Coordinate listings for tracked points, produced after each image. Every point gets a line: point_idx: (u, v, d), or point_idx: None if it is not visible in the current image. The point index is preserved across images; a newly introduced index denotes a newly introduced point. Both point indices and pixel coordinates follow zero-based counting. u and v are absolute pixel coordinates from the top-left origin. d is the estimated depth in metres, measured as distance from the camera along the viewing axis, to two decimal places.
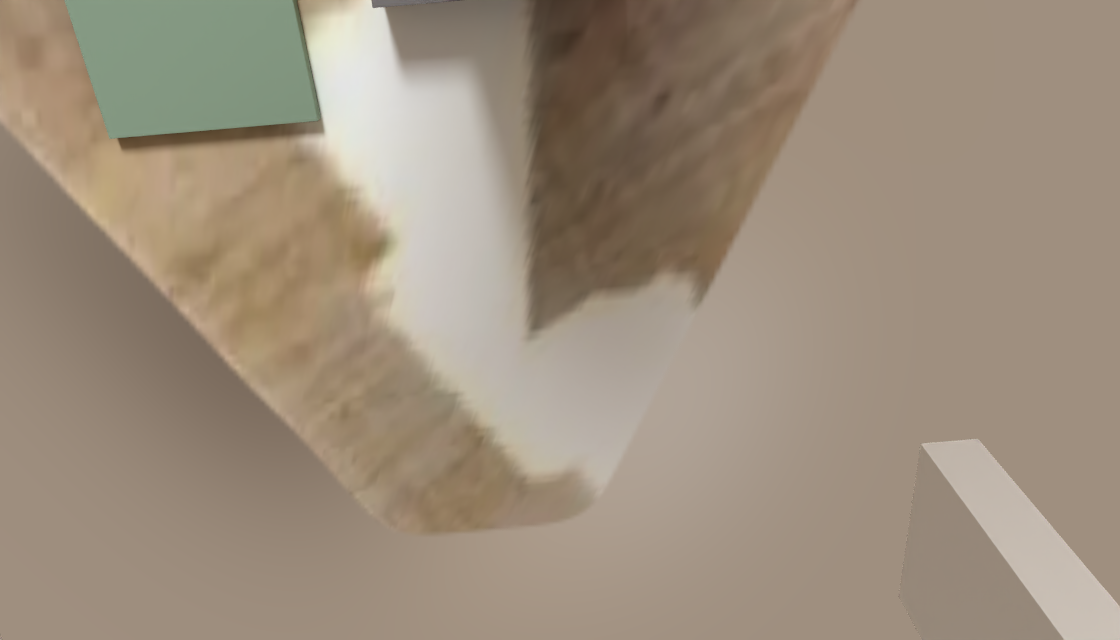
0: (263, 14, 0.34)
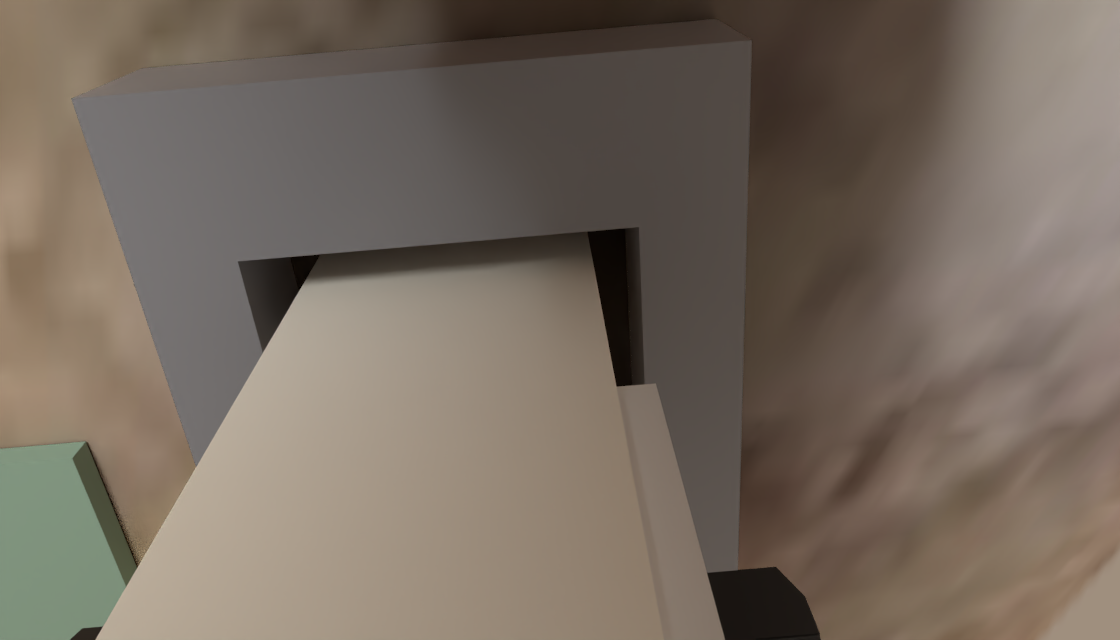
0: (84, 622, 0.19)
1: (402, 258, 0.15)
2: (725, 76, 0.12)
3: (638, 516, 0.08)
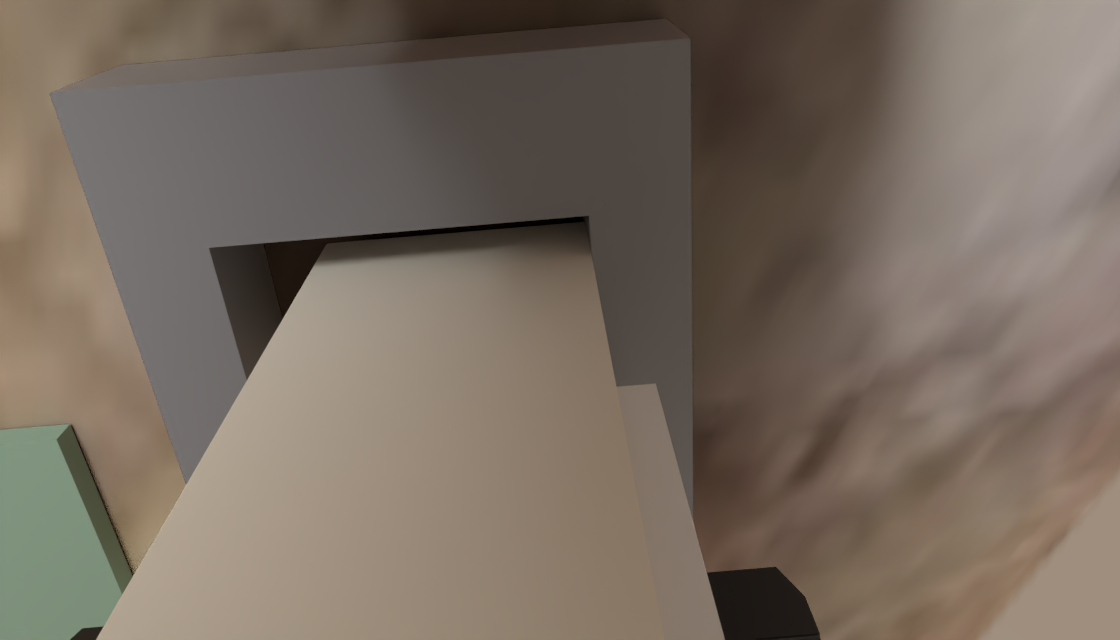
0: (69, 599, 0.20)
1: (402, 258, 0.15)
2: (666, 72, 0.13)
3: (638, 515, 0.08)
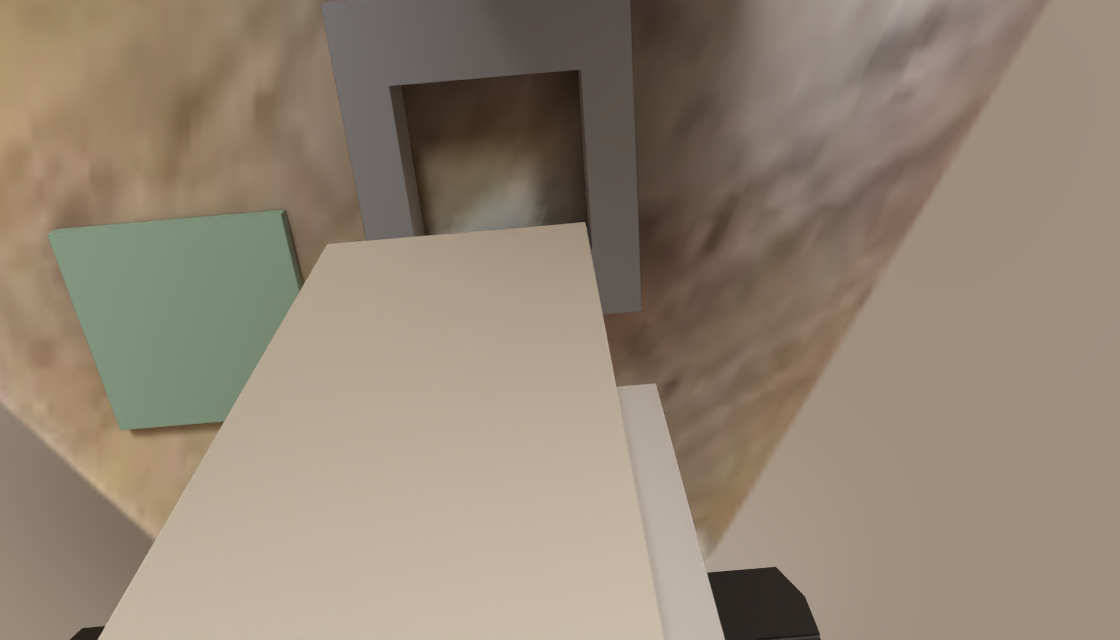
0: (274, 323, 0.34)
1: (402, 258, 0.15)
2: None
3: (638, 515, 0.08)
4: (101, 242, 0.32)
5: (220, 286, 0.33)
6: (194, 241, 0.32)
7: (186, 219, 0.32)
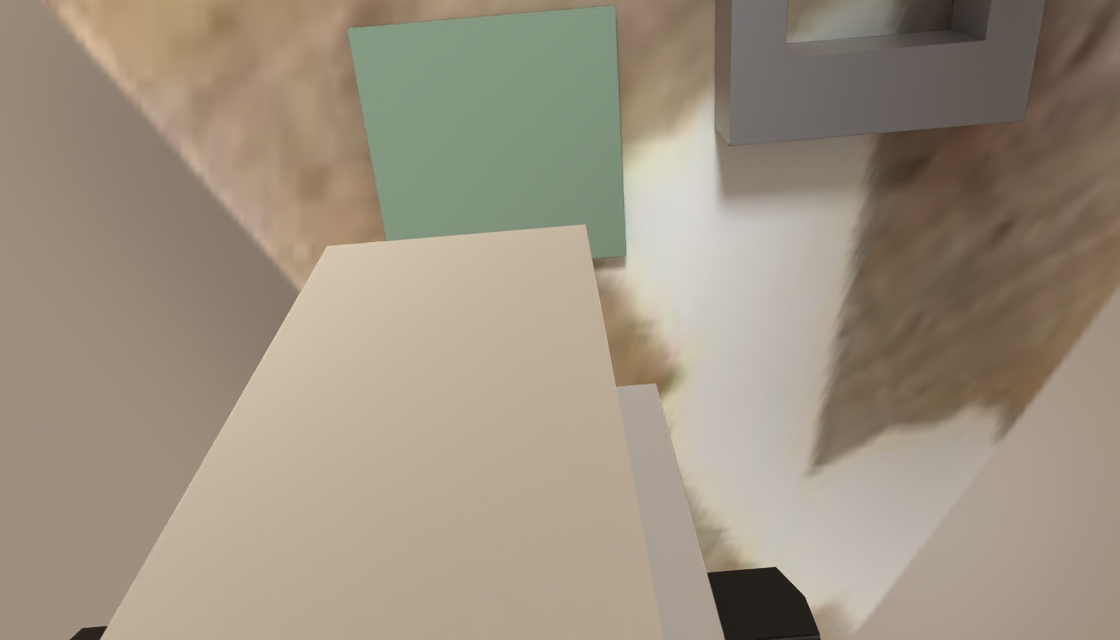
0: (585, 144, 0.30)
1: (402, 260, 0.15)
2: None
3: (638, 520, 0.08)
4: (406, 40, 0.28)
5: (532, 97, 0.29)
6: (511, 41, 0.28)
7: (503, 15, 0.28)
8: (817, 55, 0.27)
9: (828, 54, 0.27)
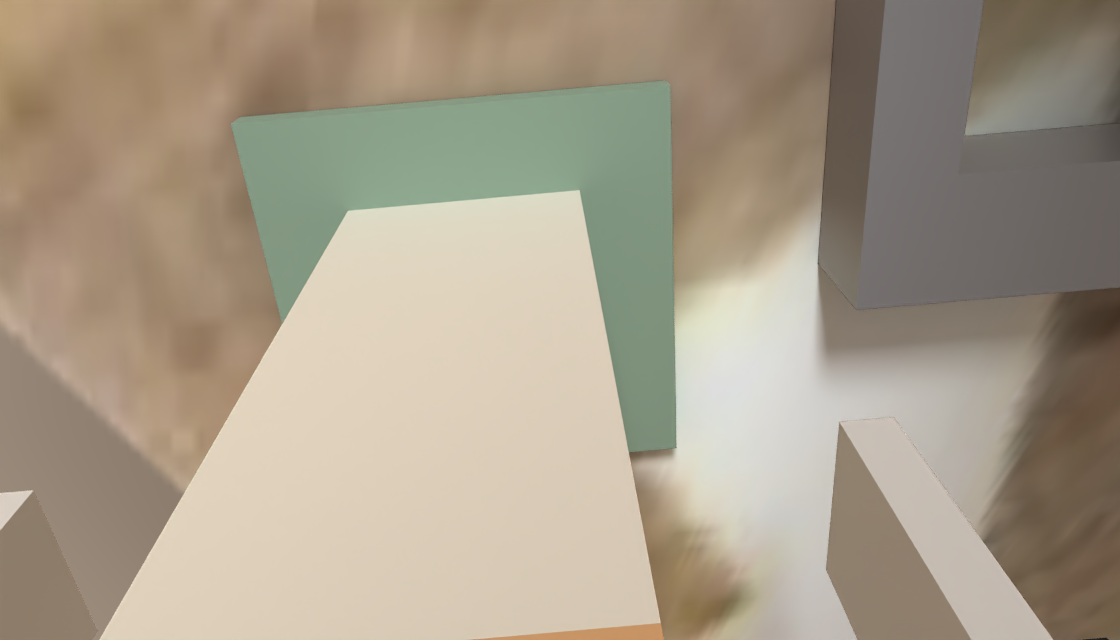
0: (617, 293, 0.19)
1: (416, 221, 0.17)
2: None
3: (618, 406, 0.10)
4: (329, 139, 0.17)
5: None
6: (500, 139, 0.17)
7: (486, 97, 0.17)
8: (1012, 170, 0.16)
9: (1031, 169, 0.16)
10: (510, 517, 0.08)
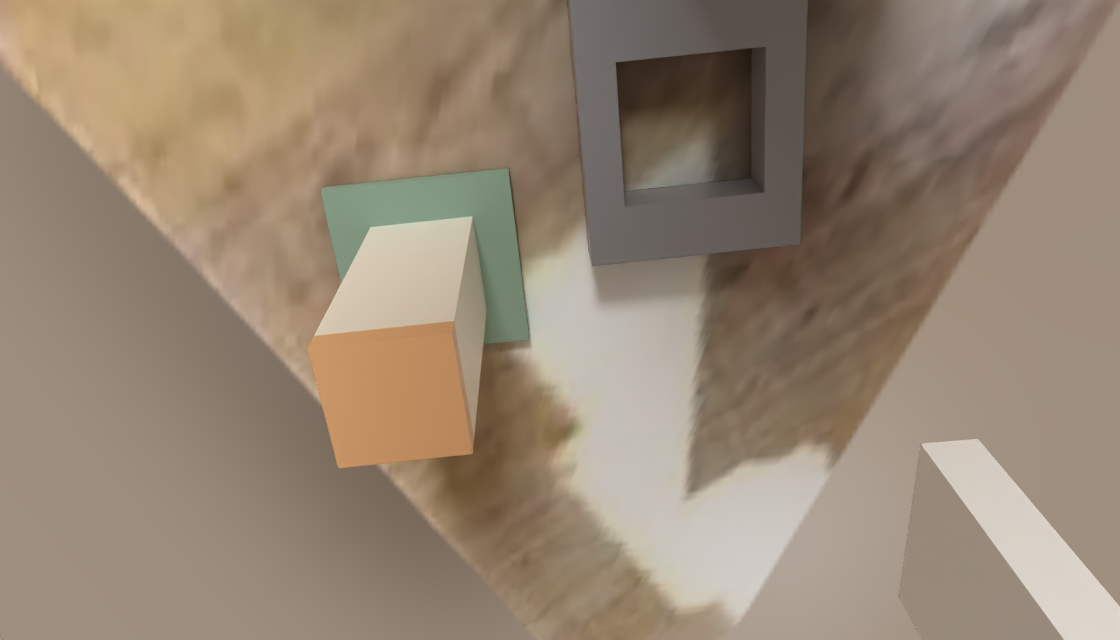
0: (493, 263, 0.41)
1: (400, 231, 0.39)
2: None
3: (460, 284, 0.33)
4: (362, 196, 0.40)
5: None
6: (436, 194, 0.40)
7: (430, 177, 0.40)
8: (647, 205, 0.38)
9: (655, 204, 0.38)
10: (421, 307, 0.31)
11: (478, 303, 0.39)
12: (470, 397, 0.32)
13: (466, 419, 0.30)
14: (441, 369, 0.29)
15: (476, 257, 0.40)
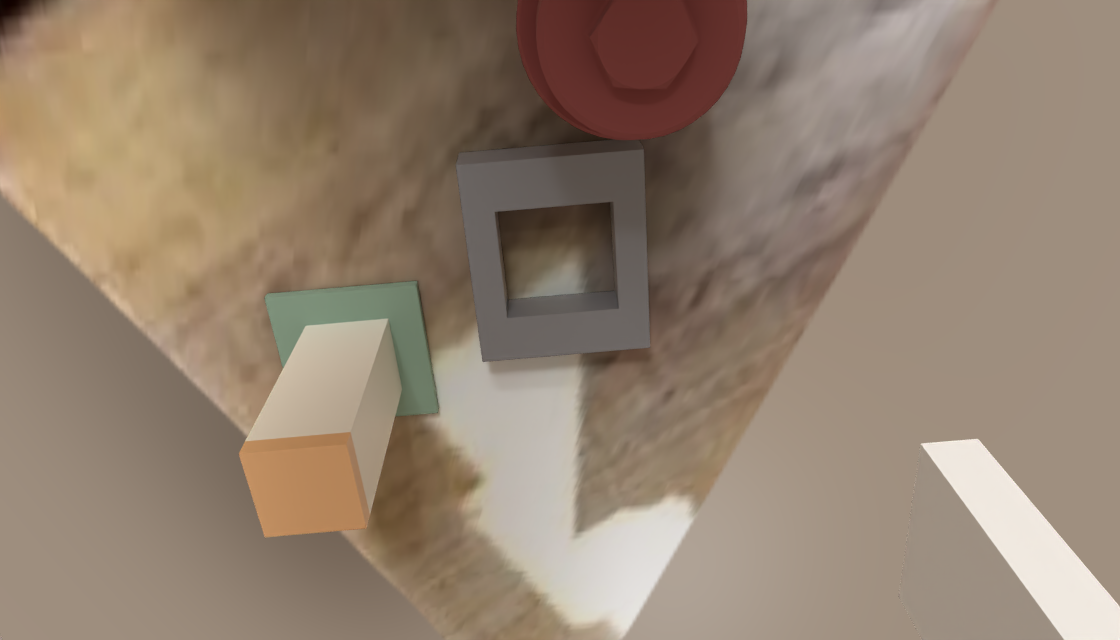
0: (406, 354, 0.51)
1: (328, 331, 0.49)
2: (637, 158, 0.44)
3: (362, 393, 0.42)
4: (298, 302, 0.49)
5: None
6: (358, 302, 0.49)
7: (353, 287, 0.49)
8: (525, 316, 0.48)
9: (531, 316, 0.48)
10: (329, 416, 0.41)
11: (389, 392, 0.48)
12: (368, 482, 0.42)
13: (360, 503, 0.40)
14: (339, 469, 0.39)
15: (390, 352, 0.50)
